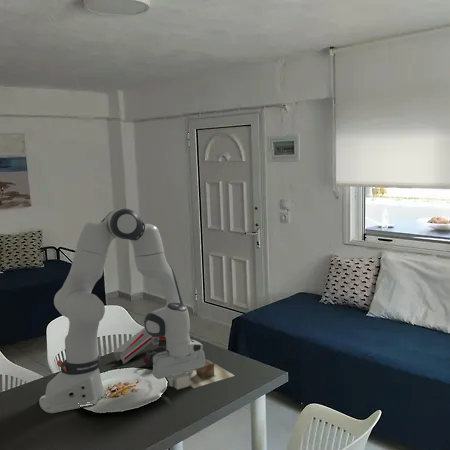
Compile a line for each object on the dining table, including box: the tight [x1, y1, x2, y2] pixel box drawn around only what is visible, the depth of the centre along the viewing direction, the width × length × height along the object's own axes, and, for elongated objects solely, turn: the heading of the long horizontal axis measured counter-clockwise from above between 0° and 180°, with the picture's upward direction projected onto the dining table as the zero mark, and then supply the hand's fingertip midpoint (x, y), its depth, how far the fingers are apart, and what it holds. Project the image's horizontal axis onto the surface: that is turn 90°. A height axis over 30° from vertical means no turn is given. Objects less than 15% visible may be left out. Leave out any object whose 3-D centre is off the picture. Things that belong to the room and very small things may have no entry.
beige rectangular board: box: [185, 363, 235, 389], centre depth 198 cm, size 18×14×1 cm
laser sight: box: [143, 339, 167, 368], centre depth 210 cm, size 10×22×10 cm, turn 91°
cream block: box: [171, 372, 190, 390], centre depth 190 cm, size 5×5×5 cm
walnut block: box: [195, 359, 215, 379], centre depth 198 cm, size 5×5×5 cm
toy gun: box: [112, 327, 166, 365], centre depth 225 cm, size 7×28×15 cm, turn 133°
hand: (180, 383), depth 190 cm, fingers closed on cream block, 5 cm apart
